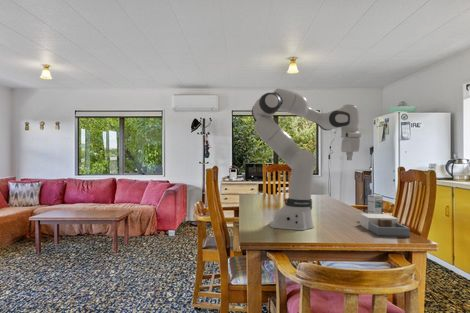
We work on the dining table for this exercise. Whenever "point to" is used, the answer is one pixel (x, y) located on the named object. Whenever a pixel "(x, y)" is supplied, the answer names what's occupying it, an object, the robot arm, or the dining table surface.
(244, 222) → the dining table surface
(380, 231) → the box
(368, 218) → the raised plate
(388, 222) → the walnut tile
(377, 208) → the syrup box
